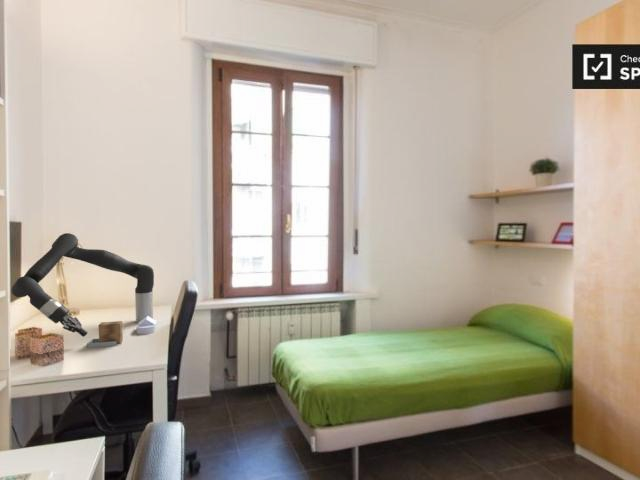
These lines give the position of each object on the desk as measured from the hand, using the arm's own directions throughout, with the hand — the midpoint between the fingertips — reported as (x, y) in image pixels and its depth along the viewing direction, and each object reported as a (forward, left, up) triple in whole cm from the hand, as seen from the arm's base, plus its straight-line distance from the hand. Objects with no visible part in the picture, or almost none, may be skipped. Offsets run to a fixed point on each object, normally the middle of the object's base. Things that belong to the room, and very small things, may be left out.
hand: (85, 334), depth 176 cm
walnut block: (0, +10, -5) cm, 12 cm away
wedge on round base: (-19, +23, -5) cm, 31 cm away
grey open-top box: (0, +7, -5) cm, 9 cm away
